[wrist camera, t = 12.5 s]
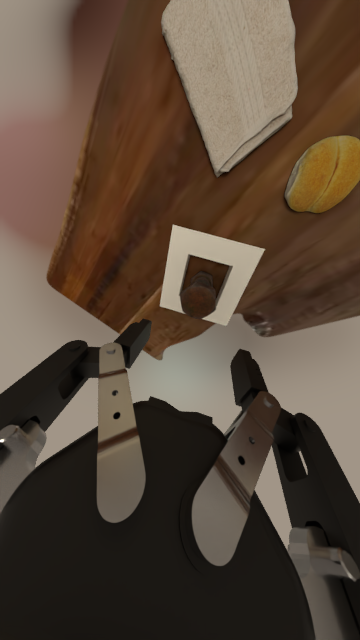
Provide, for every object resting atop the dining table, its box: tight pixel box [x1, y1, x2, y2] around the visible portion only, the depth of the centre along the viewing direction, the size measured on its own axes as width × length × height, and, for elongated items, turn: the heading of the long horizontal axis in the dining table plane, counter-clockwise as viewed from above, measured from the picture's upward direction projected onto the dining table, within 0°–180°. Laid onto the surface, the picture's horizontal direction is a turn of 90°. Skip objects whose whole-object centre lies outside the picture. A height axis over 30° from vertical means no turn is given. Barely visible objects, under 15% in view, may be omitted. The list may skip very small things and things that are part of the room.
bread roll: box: [285, 136, 360, 213], centre depth 20 cm, size 8×9×4 cm
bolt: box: [180, 271, 216, 319], centre depth 26 cm, size 6×5×15 cm
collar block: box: [160, 225, 265, 326], centre depth 31 cm, size 17×17×4 cm
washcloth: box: [161, 0, 298, 178], centre depth 18 cm, size 12×18×3 cm, turn 33°
